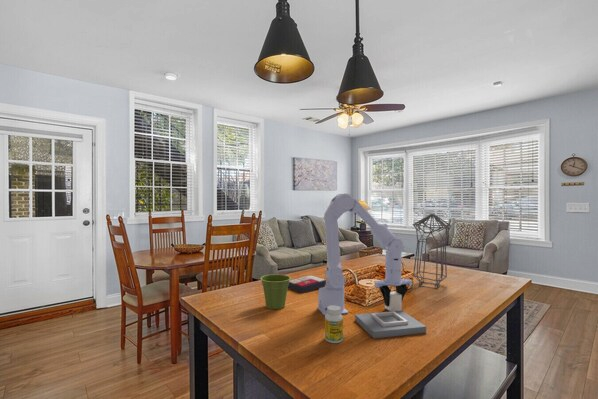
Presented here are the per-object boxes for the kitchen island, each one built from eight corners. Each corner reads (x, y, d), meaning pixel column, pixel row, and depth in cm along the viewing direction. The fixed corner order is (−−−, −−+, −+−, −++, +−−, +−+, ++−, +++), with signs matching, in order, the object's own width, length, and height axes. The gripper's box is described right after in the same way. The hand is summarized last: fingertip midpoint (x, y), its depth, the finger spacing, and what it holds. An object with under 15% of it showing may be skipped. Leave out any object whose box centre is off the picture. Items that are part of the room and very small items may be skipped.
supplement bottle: (339, 334, 95) (339, 303, 95) (345, 342, 90) (345, 310, 90) (322, 336, 94) (322, 305, 94) (328, 344, 88) (328, 311, 88)
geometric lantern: (417, 279, 159) (419, 212, 159) (450, 285, 150) (453, 214, 150) (408, 286, 146) (411, 213, 146) (444, 293, 137) (447, 215, 137)
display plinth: (373, 338, 92) (373, 328, 92) (355, 320, 106) (355, 311, 106) (426, 332, 96) (426, 323, 96) (401, 315, 110) (401, 307, 110)
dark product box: (286, 280, 144) (311, 274, 153) (287, 289, 144) (311, 282, 153) (301, 285, 135) (326, 278, 144) (301, 295, 135) (326, 287, 145)
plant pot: (297, 306, 119) (297, 277, 119) (274, 314, 111) (274, 283, 110) (276, 299, 127) (276, 272, 127) (253, 306, 119) (254, 277, 119)
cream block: (390, 311, 113) (390, 295, 113) (384, 307, 118) (384, 292, 117) (401, 311, 114) (401, 295, 114) (395, 306, 119) (395, 291, 118)
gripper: (380, 272, 110) (380, 310, 110) (416, 270, 113) (416, 307, 114) (372, 268, 117) (371, 303, 117) (405, 266, 120) (405, 300, 120)
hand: (393, 305), depth 116 cm, fingers closed on cream block, 4 cm apart
